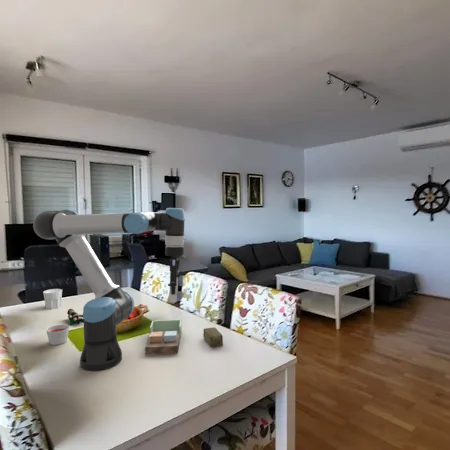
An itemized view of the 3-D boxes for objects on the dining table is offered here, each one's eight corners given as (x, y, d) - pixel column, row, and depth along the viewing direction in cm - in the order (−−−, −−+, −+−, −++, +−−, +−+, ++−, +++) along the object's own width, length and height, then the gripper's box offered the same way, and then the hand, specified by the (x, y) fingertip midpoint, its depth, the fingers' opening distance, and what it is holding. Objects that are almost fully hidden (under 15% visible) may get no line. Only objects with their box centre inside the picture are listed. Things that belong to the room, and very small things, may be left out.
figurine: (73, 321, 162) (61, 309, 172) (72, 331, 163) (61, 319, 173) (88, 317, 168) (77, 305, 178) (88, 327, 169) (76, 315, 179)
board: (145, 354, 131) (145, 347, 131) (150, 340, 145) (150, 333, 145) (178, 353, 132) (177, 345, 132) (180, 339, 146) (179, 332, 146)
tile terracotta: (149, 342, 136) (149, 336, 136) (151, 337, 141) (151, 331, 141) (161, 341, 136) (161, 335, 136) (163, 336, 141) (162, 331, 141)
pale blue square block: (164, 341, 136) (164, 335, 136) (165, 336, 141) (165, 331, 141) (176, 340, 137) (176, 335, 137) (177, 336, 142) (176, 330, 142)
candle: (43, 342, 145) (43, 328, 144) (64, 336, 151) (64, 323, 151) (51, 348, 138) (50, 333, 138) (73, 341, 145) (72, 327, 145)
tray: (150, 340, 145) (149, 327, 145) (152, 332, 154) (152, 320, 154) (180, 338, 147) (180, 326, 146) (181, 331, 156) (181, 319, 155)
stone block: (210, 348, 136) (210, 336, 136) (202, 338, 147) (202, 327, 147) (223, 346, 138) (223, 334, 138) (214, 336, 149) (214, 325, 149)
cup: (51, 304, 202) (50, 288, 202) (66, 304, 201) (65, 289, 200) (40, 309, 192) (39, 292, 192) (55, 310, 191) (55, 293, 190)
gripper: (183, 250, 121) (182, 306, 123) (184, 242, 146) (183, 289, 147) (163, 249, 120) (162, 306, 122) (167, 242, 145) (166, 289, 146)
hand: (173, 297), depth 135 cm, fingers open, 13 cm apart
